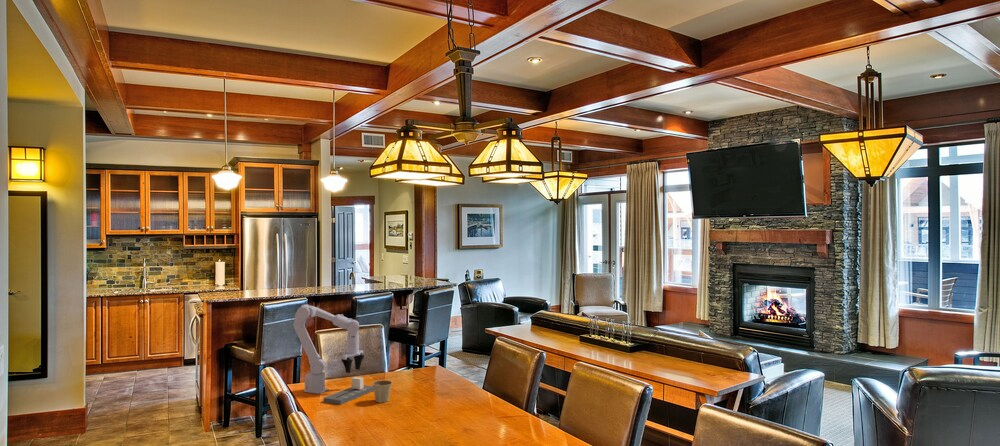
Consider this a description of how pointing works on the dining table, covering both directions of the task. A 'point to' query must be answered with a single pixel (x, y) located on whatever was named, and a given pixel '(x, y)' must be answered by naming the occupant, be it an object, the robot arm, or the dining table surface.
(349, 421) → the dining table surface
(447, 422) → the dining table surface
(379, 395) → the flower pot
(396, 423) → the dining table surface
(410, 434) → the dining table surface
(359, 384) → the fader
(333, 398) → the console
